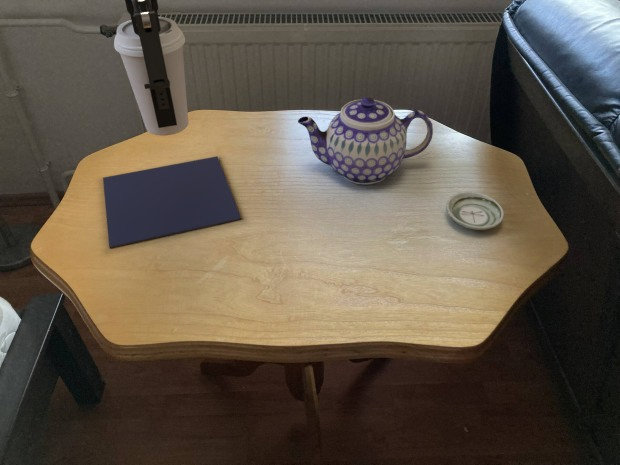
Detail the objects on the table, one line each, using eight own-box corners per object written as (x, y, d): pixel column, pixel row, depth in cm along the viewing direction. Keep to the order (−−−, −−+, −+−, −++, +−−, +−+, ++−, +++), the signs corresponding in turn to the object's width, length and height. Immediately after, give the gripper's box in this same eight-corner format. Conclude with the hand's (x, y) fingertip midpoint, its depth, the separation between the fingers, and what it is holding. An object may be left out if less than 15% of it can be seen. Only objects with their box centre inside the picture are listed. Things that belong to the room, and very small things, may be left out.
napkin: (109, 248, 83) (109, 246, 83) (103, 179, 97) (102, 177, 97) (241, 219, 89) (241, 218, 89) (217, 157, 103) (217, 156, 102)
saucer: (455, 240, 85) (458, 230, 83) (436, 204, 92) (438, 193, 91) (510, 235, 86) (514, 224, 85) (487, 199, 93) (490, 188, 92)
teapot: (420, 147, 106) (432, 79, 96) (433, 193, 95) (449, 121, 84) (298, 147, 106) (298, 78, 96) (298, 193, 94) (297, 121, 84)
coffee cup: (154, 148, 74) (130, 47, 64) (124, 122, 80) (98, 25, 70) (210, 126, 79) (196, 28, 69) (179, 103, 84) (161, 9, 74)
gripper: (170, -36, 56) (200, 142, 72) (152, -76, 70) (180, 80, 86) (99, -30, 55) (145, 151, 70) (94, -72, 69) (134, 86, 84)
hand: (164, 112), depth 78 cm, fingers closed on coffee cup, 7 cm apart
